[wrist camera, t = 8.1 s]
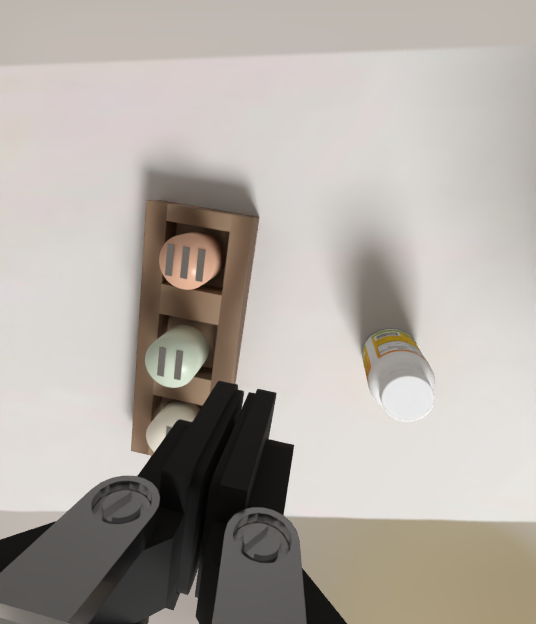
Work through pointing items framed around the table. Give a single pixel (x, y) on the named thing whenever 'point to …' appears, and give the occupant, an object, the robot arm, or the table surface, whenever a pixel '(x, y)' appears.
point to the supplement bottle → (398, 375)
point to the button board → (191, 305)
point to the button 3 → (191, 259)
